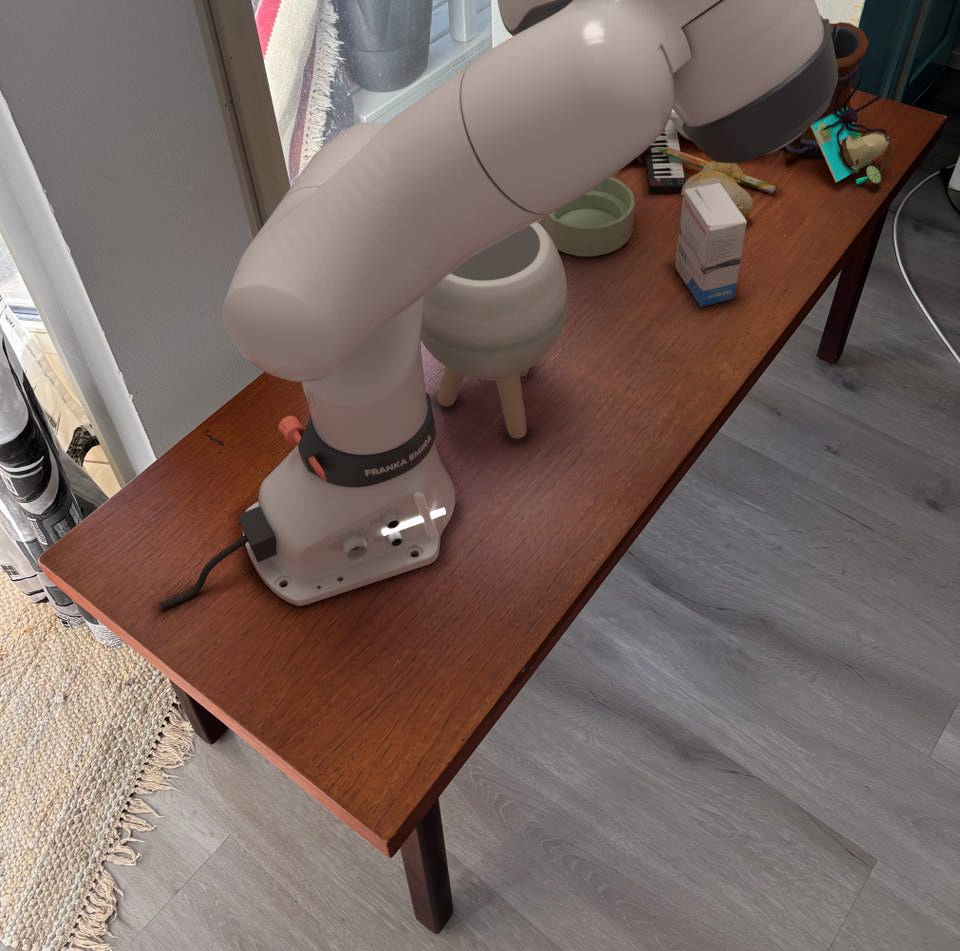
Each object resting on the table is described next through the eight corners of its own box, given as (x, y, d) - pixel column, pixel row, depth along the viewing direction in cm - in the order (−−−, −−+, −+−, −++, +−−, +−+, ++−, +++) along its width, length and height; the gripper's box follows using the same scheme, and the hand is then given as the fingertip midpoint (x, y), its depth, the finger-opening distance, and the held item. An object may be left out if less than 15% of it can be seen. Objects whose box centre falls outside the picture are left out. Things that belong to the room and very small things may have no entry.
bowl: (575, 271, 126) (576, 240, 123) (525, 225, 133) (524, 193, 129) (649, 238, 130) (653, 206, 126) (597, 194, 137) (598, 163, 133)
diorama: (843, 200, 134) (877, 185, 129) (798, 98, 132) (830, 79, 127) (888, 174, 139) (922, 158, 134) (845, 75, 137) (878, 56, 132)
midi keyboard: (686, 184, 135) (649, 185, 135) (685, 192, 136) (648, 193, 136) (675, 116, 146) (641, 117, 146) (674, 124, 147) (641, 124, 147)
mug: (812, 190, 135) (837, 88, 123) (736, 164, 139) (754, 63, 128) (865, 128, 143) (894, 28, 132) (792, 106, 148) (813, 7, 136)
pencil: (651, 152, 139) (771, 195, 134) (653, 144, 138) (774, 188, 134) (655, 148, 140) (774, 191, 135) (657, 141, 139) (777, 184, 134)
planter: (542, 342, 118) (542, 183, 101) (583, 438, 108) (590, 280, 91) (412, 369, 117) (389, 212, 99) (441, 470, 106) (421, 314, 89)
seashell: (664, 197, 126) (711, 133, 133) (654, 231, 131) (701, 168, 138) (734, 228, 123) (779, 161, 130) (722, 262, 128) (766, 196, 136)
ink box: (735, 300, 121) (751, 221, 112) (697, 308, 121) (710, 229, 112) (708, 258, 127) (721, 179, 118) (672, 265, 126) (682, 187, 117)
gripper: (534, 58, 104) (535, 171, 115) (686, 4, 110) (673, 116, 121) (503, 35, 108) (506, 147, 119) (652, -17, 114) (642, 94, 125)
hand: (592, 131), depth 120 cm, fingers closed on fruit, 7 cm apart
